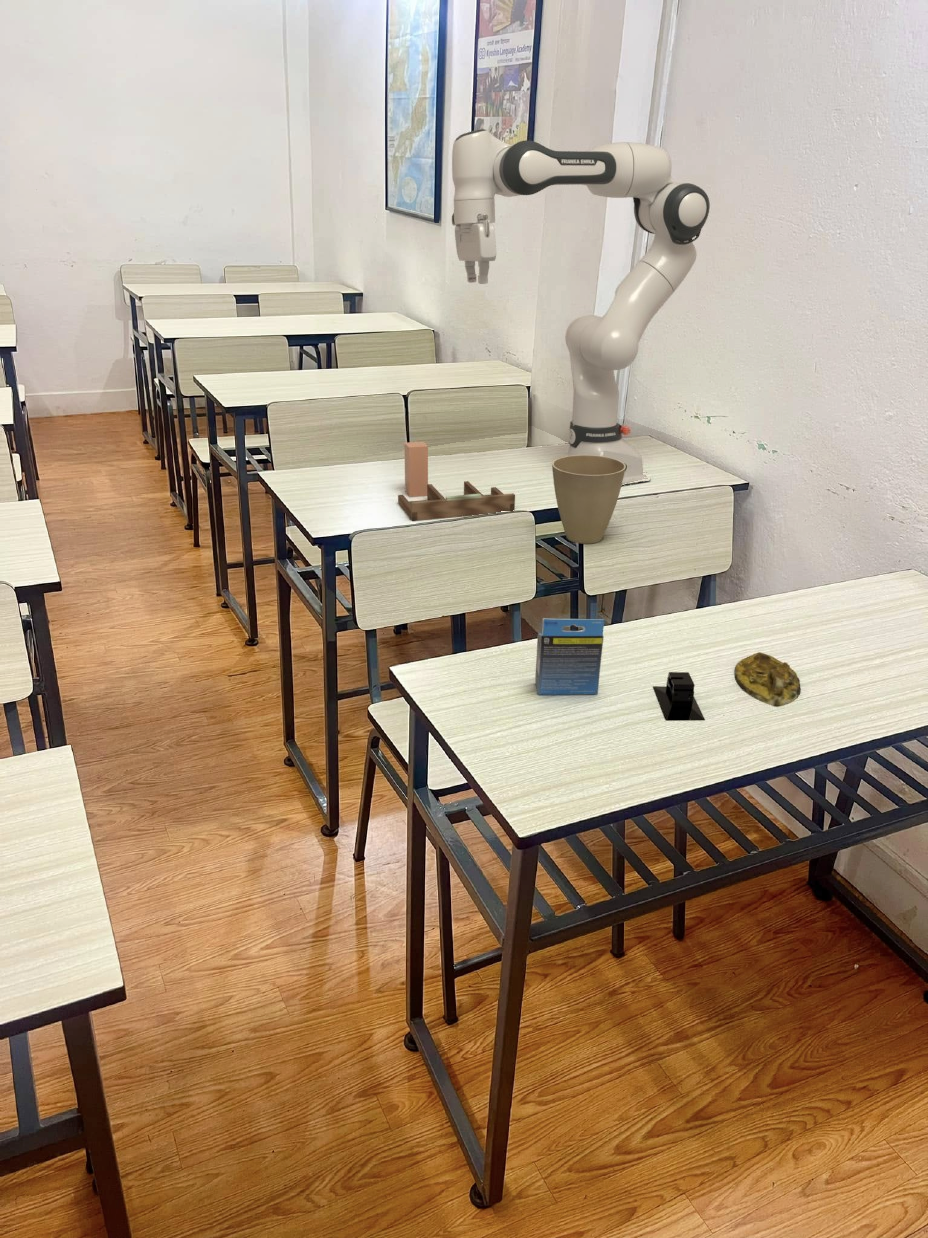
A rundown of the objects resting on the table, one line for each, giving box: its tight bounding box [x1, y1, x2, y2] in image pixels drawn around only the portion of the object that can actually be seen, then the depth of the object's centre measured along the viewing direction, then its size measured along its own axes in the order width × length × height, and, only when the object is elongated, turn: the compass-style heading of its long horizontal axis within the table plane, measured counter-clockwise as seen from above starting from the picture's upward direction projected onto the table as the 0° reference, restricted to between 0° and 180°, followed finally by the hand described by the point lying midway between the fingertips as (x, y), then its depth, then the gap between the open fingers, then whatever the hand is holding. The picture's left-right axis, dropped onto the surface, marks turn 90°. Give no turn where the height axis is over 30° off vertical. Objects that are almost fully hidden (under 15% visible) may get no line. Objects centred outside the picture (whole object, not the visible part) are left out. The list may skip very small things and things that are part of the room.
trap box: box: [397, 480, 516, 522], centre depth 205 cm, size 24×13×5 cm, turn 108°
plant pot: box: [551, 455, 626, 545], centre depth 185 cm, size 15×15×16 cm
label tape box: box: [534, 617, 605, 696], centre depth 128 cm, size 9×4×12 cm, turn 92°
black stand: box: [652, 671, 706, 722], centre depth 127 cm, size 12×7×5 cm, turn 0°
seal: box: [733, 651, 802, 707], centre depth 133 cm, size 9×5×15 cm
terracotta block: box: [403, 441, 429, 498], centre depth 212 cm, size 4×4×12 cm
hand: (477, 282), depth 199 cm, fingers open, 8 cm apart
